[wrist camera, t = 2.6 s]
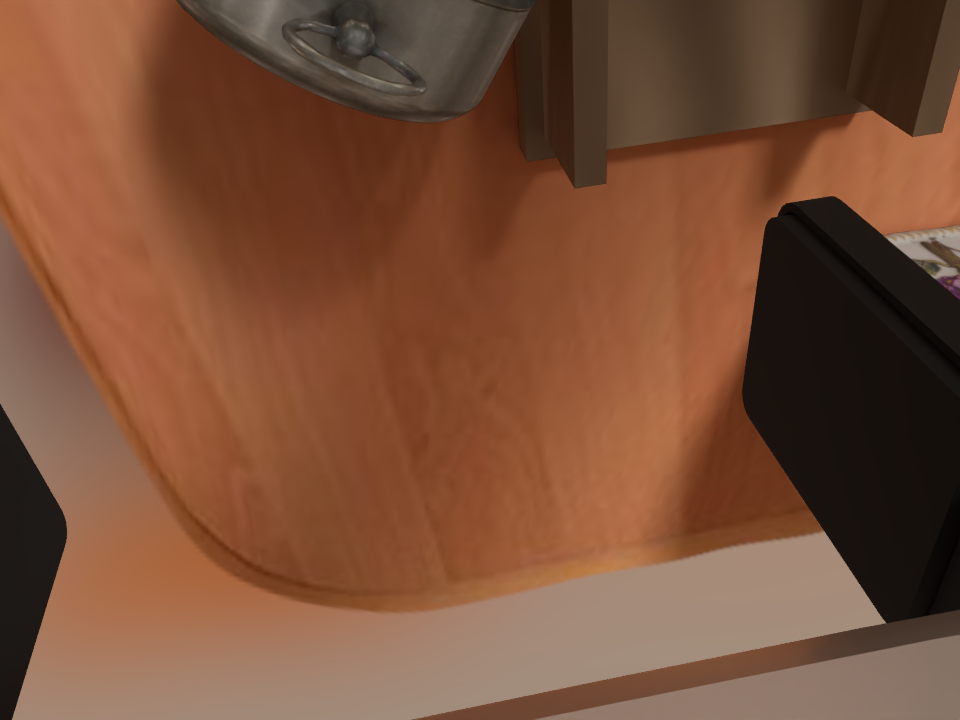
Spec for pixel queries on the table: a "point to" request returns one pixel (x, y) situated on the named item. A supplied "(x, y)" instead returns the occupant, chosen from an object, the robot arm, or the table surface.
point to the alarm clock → (374, 48)
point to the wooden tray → (723, 70)
